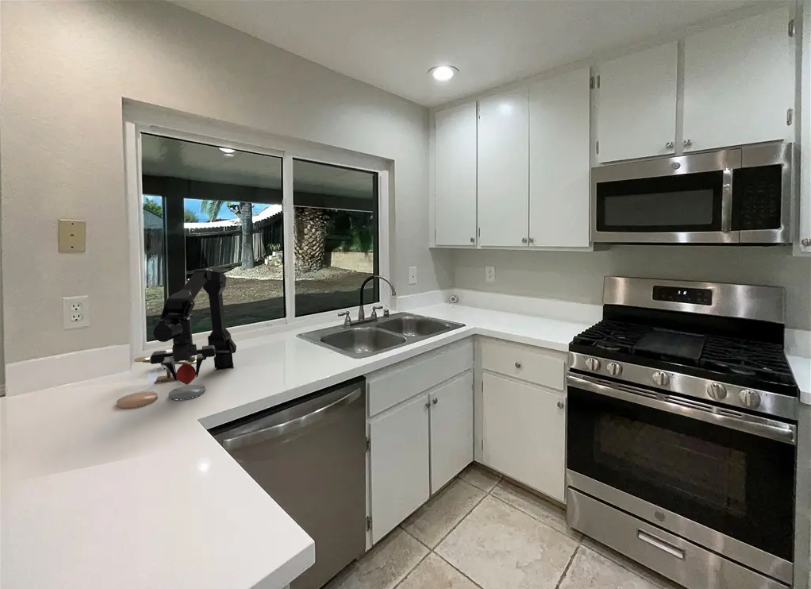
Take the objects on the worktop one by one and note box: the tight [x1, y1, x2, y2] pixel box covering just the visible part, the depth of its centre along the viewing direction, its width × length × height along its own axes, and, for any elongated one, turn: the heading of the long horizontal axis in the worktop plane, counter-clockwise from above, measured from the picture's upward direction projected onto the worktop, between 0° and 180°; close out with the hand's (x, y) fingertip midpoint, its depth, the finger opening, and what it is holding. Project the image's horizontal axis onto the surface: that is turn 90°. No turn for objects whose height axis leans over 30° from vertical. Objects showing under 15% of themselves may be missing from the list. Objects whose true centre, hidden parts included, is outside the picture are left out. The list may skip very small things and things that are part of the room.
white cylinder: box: [160, 348, 178, 369], centre depth 162 cm, size 7×7×7 cm
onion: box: [176, 361, 196, 385], centre depth 133 cm, size 6×6×8 cm
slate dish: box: [168, 383, 207, 401], centre depth 134 cm, size 11×11×1 cm
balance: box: [133, 355, 197, 384], centre depth 147 cm, size 21×5×9 cm, turn 114°
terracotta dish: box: [116, 390, 158, 410], centre depth 128 cm, size 11×11×1 cm
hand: (186, 378), depth 134 cm, fingers closed on onion, 6 cm apart
